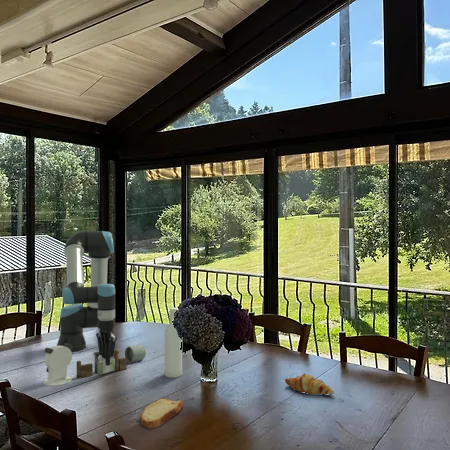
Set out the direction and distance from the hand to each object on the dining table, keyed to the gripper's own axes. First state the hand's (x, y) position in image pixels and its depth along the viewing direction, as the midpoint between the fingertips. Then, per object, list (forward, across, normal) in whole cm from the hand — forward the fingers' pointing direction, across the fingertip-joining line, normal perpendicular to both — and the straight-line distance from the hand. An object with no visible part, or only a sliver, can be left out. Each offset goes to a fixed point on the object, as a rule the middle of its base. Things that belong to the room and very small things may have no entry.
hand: (106, 372), depth 197 cm
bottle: (+2, +20, +21) cm, 30 cm away
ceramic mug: (+2, -10, +22) cm, 25 cm away
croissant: (+3, +76, +45) cm, 88 cm away
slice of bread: (+3, +49, -9) cm, 50 cm away
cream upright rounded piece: (+2, -10, -17) cm, 20 cm away
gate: (+1, -3, +2) cm, 4 cm away
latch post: (+2, -8, 0) cm, 8 cm away
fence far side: (+2, -7, -6) cm, 9 cm away
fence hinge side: (+2, -3, +9) cm, 10 cm away
